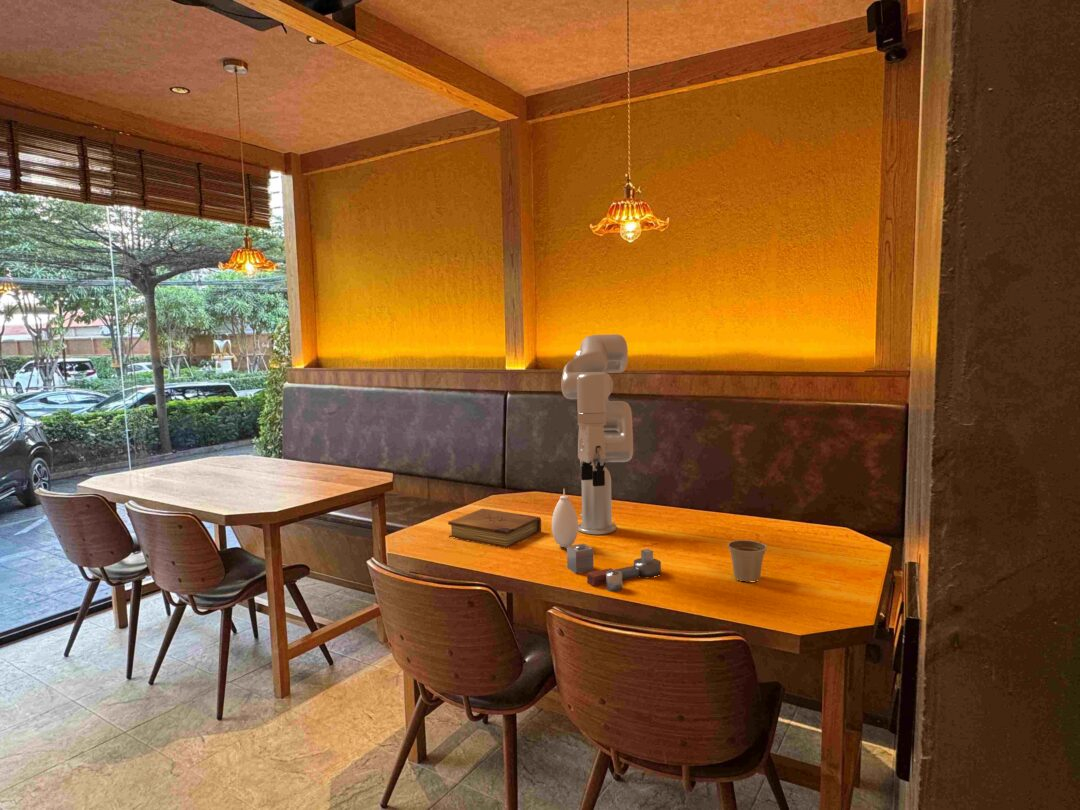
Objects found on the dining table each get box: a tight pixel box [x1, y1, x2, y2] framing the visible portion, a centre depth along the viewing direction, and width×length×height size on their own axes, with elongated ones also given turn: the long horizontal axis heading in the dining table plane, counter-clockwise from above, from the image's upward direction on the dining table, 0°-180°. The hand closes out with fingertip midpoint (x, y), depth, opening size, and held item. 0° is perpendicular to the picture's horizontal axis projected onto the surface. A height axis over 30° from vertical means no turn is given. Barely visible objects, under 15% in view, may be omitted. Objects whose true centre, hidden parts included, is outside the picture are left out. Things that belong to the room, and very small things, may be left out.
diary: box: [447, 508, 542, 549], centre depth 209 cm, size 23×19×6 cm
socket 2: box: [605, 569, 623, 593], centre depth 161 cm, size 4×4×4 cm
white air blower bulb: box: [551, 488, 579, 549], centre depth 194 cm, size 8×8×18 cm
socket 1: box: [566, 543, 595, 575], centre depth 175 cm, size 5×5×6 cm
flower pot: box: [727, 539, 768, 583], centre depth 165 cm, size 9×9×9 cm
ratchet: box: [586, 548, 662, 588], centre depth 168 cm, size 7×20×6 cm, turn 114°
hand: (592, 482), depth 176 cm, fingers open, 9 cm apart
